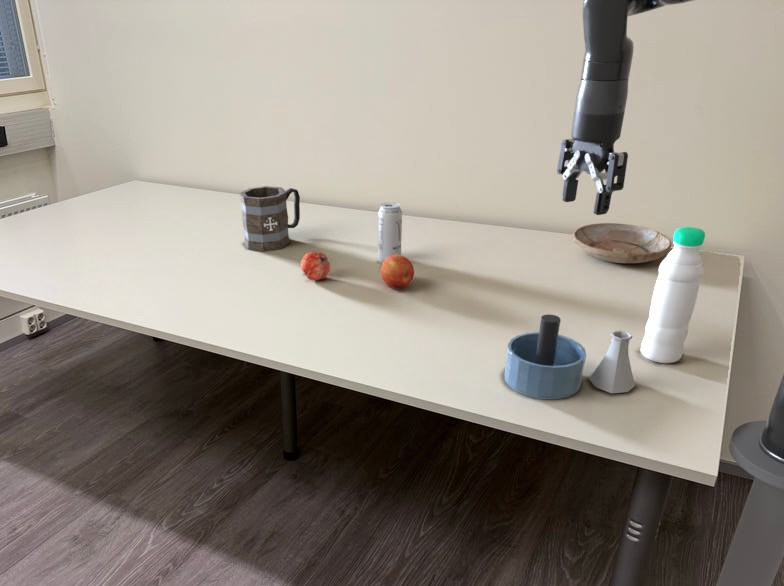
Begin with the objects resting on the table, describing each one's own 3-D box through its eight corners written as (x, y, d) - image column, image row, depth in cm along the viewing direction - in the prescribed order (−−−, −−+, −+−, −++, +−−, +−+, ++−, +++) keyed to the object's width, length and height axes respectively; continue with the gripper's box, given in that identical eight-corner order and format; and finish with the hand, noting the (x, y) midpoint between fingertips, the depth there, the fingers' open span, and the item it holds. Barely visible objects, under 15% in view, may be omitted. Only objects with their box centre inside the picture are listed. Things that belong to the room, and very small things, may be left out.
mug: (262, 254, 187) (258, 201, 180) (234, 243, 196) (229, 193, 189) (315, 237, 198) (312, 187, 191) (286, 227, 207) (283, 179, 200)
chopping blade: (575, 377, 121) (586, 318, 115) (549, 394, 117) (559, 333, 111) (535, 361, 127) (543, 303, 121) (508, 377, 122) (515, 318, 116)
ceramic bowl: (582, 272, 165) (586, 253, 163) (562, 240, 186) (564, 223, 183) (682, 271, 162) (686, 252, 160) (649, 239, 183) (653, 222, 180)
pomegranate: (297, 288, 171) (314, 274, 162) (290, 261, 172) (306, 246, 163) (322, 284, 174) (340, 271, 165) (315, 258, 175) (332, 243, 166)
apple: (406, 278, 167) (407, 248, 163) (419, 291, 160) (420, 260, 156) (376, 283, 165) (376, 252, 161) (387, 296, 158) (388, 264, 154)
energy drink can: (398, 265, 175) (399, 209, 168) (376, 263, 177) (376, 208, 170) (402, 257, 180) (404, 202, 173) (380, 255, 182) (381, 201, 175)
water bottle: (670, 368, 123) (703, 239, 111) (633, 356, 128) (660, 230, 116) (687, 355, 127) (720, 229, 115) (649, 343, 132) (678, 221, 120)
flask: (580, 379, 122) (589, 330, 117) (611, 370, 124) (621, 321, 119) (611, 398, 116) (622, 347, 111) (642, 388, 118) (654, 338, 113)
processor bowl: (594, 380, 121) (600, 348, 118) (553, 408, 114) (559, 375, 111) (531, 355, 130) (535, 325, 127) (489, 379, 123) (492, 349, 120)
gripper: (651, 112, 102) (630, 216, 110) (591, 100, 114) (576, 194, 122) (609, 117, 100) (591, 221, 108) (552, 104, 112) (540, 199, 120)
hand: (583, 207), depth 115 cm, fingers open, 8 cm apart
